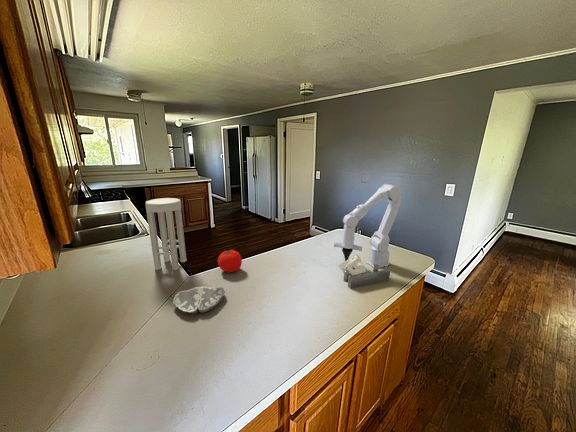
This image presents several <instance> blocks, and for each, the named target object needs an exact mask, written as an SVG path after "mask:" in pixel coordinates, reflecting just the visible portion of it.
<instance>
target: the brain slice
mask: <svg viewBox="0 0 576 432" xmlns="http://www.w3.org/2000/svg"><path fill="white" fill-rule="evenodd" d="M225 293H226V292H225V289H224V287H222V286H216V287H210V286H195V287H192V288H190V289H187V290H186V289H184V290H180V291H178V292H177V293H176V294H175V295H174V298H173V299H172V304H173V305H174V306H175V308H178V310H180V311H181V312H183V313H188V314H198V313H201V314H203V313H206V312H208V311H211V310H212V309H213V308H214V307H216V306H217V305H218V304H219V303H220V302H221V300H222V299H223V298H224V294H225Z"/></svg>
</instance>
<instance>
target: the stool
mask: <svg viewBox="0 0 576 432" xmlns="http://www.w3.org/2000/svg"><path fill="white" fill-rule="evenodd" d="M145 211H146V218H147V224H148V232H149V238H150V239H149V240H150V244H151V245H150V246H151V250H152V252H151V253H152V259H153V265H154V270H156V271H158V270H161V269H162V260H161V256H163V262H164V263H165V262H166V263H168V262H170V261H171V266H172V271H178V270H179V268H180V267H179V266H180V265H179V264H180V263H179V259H180V262H181V263H185V262H187V253H186V252H187V251H186V244H185V235H184V226H183V215H182V201H181V199H180V198H176V197H175V198H174V197H162V198H154V199H150V200H146V201H145ZM173 211H174V213H175V214H173ZM155 213H157V218H158V226H159V234H160V242H161V245H159V241H158V234H157V233H158V232H157V223H156V218H155ZM174 216H175V221H174ZM175 223H176V225H175ZM175 226H176V231H175ZM176 232H177V238H176ZM177 243H178V245H177ZM160 250H162V251H160ZM178 251H179V257H178Z"/></svg>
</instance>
